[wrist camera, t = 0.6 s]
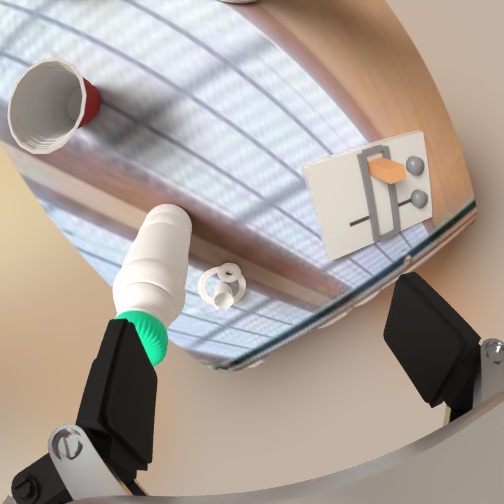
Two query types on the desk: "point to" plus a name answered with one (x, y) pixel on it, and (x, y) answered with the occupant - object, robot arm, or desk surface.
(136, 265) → the water bottle
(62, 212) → the desk surface
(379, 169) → the block
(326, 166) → the console
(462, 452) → the robot arm
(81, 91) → the plastic cup
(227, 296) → the white ring with post
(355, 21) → the desk surface
